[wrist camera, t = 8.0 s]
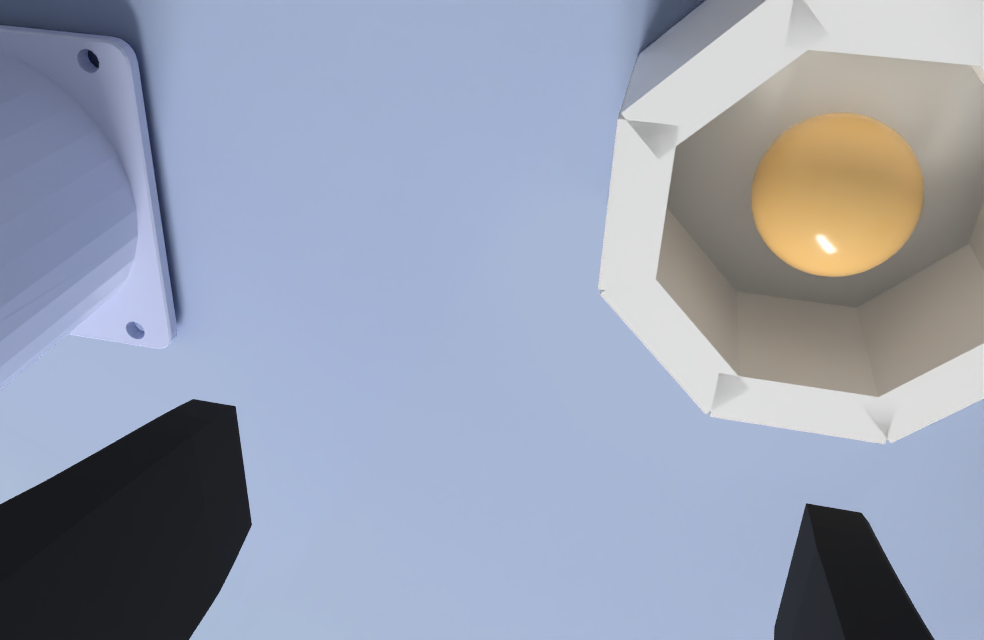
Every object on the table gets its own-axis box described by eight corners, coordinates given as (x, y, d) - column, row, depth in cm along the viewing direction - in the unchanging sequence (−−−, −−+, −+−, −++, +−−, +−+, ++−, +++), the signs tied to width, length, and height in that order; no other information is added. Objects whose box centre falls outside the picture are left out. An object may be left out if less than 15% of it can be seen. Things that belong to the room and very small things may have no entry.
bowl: (607, 300, 22) (585, 396, 18) (652, -70, 18) (635, -34, 14) (973, 352, 20) (1022, 466, 17) (1113, -35, 16) (1214, 13, 13)
